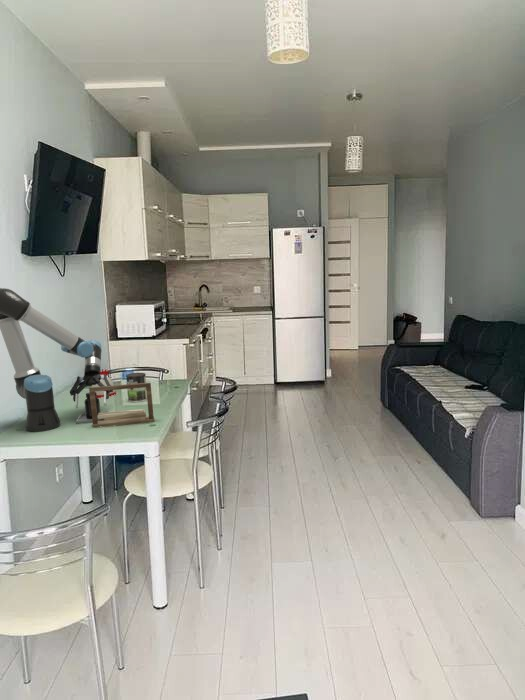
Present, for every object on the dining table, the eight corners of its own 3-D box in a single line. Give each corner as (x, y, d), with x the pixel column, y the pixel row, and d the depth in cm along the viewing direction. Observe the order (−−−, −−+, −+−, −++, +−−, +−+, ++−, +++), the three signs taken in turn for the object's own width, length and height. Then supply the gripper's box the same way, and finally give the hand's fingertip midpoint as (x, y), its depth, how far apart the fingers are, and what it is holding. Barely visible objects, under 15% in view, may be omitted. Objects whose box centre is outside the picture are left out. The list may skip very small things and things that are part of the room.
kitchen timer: (119, 394, 309) (117, 369, 307) (95, 399, 302) (92, 372, 299) (111, 391, 321) (108, 366, 318) (87, 395, 313) (85, 369, 311)
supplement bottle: (89, 415, 263) (86, 391, 261) (102, 415, 262) (100, 391, 261) (83, 419, 256) (81, 394, 254) (98, 419, 256) (95, 394, 254)
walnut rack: (153, 422, 248) (150, 384, 245) (92, 427, 244) (88, 389, 242) (154, 418, 254) (150, 381, 251) (94, 424, 250) (90, 386, 248)
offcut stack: (145, 420, 247) (144, 411, 247) (97, 424, 245) (96, 415, 244) (146, 417, 253) (145, 408, 252) (99, 421, 250) (98, 412, 249)
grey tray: (105, 421, 254) (105, 418, 253) (76, 424, 252) (75, 420, 252) (109, 414, 267) (108, 411, 266) (81, 416, 265) (80, 413, 264)
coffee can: (141, 402, 287) (138, 376, 285) (124, 402, 291) (122, 376, 289) (151, 398, 297) (149, 372, 295) (135, 397, 300) (132, 372, 298)
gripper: (119, 370, 273) (118, 407, 260) (68, 374, 270) (65, 412, 257) (117, 362, 267) (116, 399, 254) (65, 365, 264) (61, 403, 251)
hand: (90, 405), depth 256 cm, fingers open, 12 cm apart
